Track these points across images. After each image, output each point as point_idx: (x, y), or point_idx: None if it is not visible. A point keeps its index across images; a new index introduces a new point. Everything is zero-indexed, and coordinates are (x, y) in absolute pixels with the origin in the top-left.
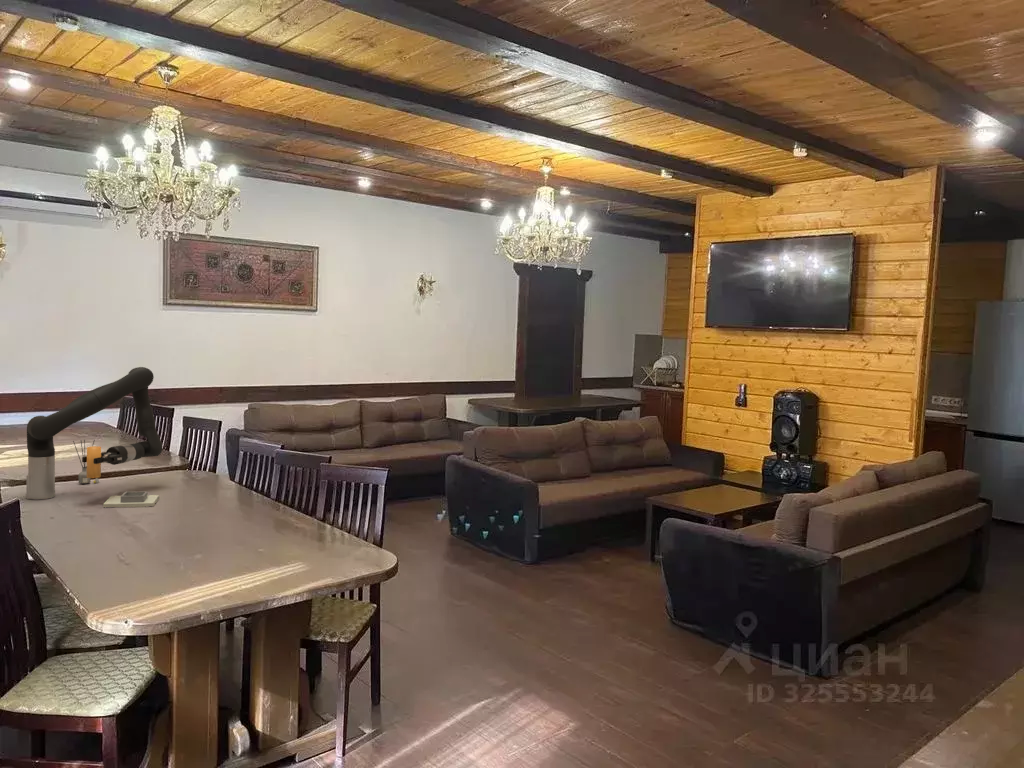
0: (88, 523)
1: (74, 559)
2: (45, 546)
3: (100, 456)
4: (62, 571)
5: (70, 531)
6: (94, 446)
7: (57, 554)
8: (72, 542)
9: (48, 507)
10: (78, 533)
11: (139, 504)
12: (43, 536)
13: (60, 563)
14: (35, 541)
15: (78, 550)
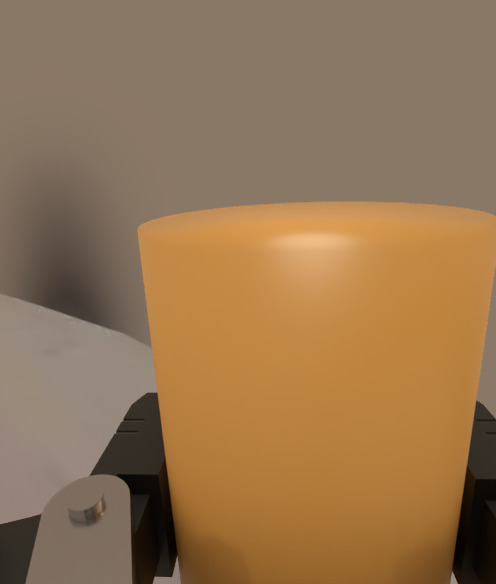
0: (59, 446)
1: (6, 318)
2: (91, 332)
3: (166, 456)
4: (11, 301)
5: (84, 387)
6: (427, 229)
7: (46, 321)
8: (42, 351)
9: (455, 581)
10: (52, 383)
11: None
12: (133, 355)
13: (25, 309)
14: (129, 339)
15: (11, 335)
